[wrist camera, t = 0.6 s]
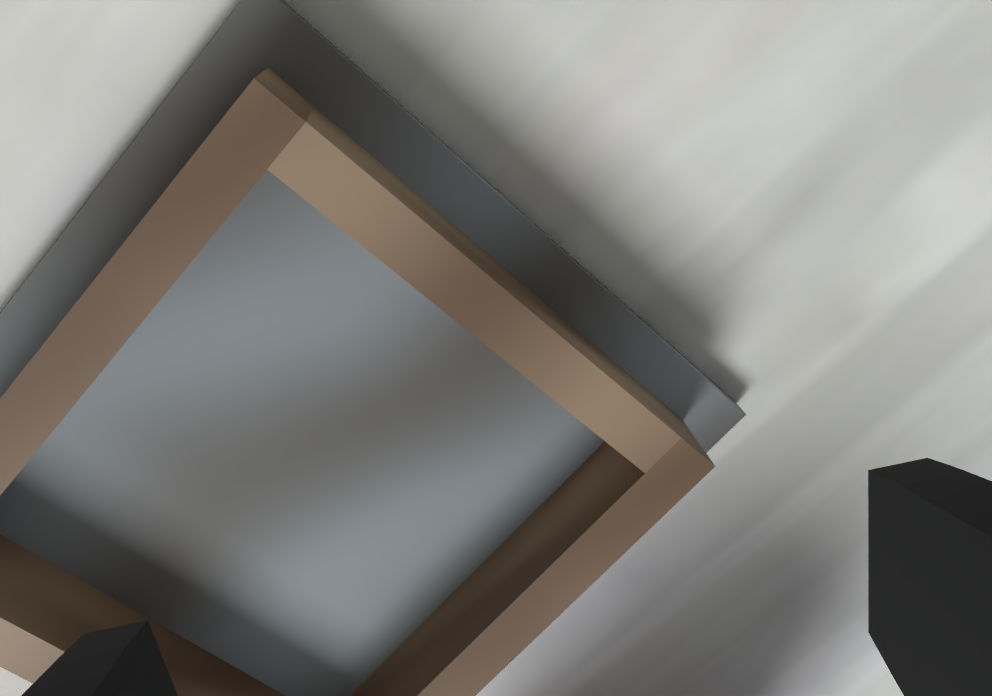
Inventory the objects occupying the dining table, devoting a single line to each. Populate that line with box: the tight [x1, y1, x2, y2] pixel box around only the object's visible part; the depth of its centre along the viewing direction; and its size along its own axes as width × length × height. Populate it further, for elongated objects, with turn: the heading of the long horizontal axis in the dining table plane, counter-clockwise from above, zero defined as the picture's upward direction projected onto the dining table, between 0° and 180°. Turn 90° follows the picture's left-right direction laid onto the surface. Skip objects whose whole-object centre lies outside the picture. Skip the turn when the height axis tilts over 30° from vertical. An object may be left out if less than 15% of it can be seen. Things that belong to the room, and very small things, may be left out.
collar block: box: [0, 0, 746, 696], centre depth 18 cm, size 13×14×2 cm
